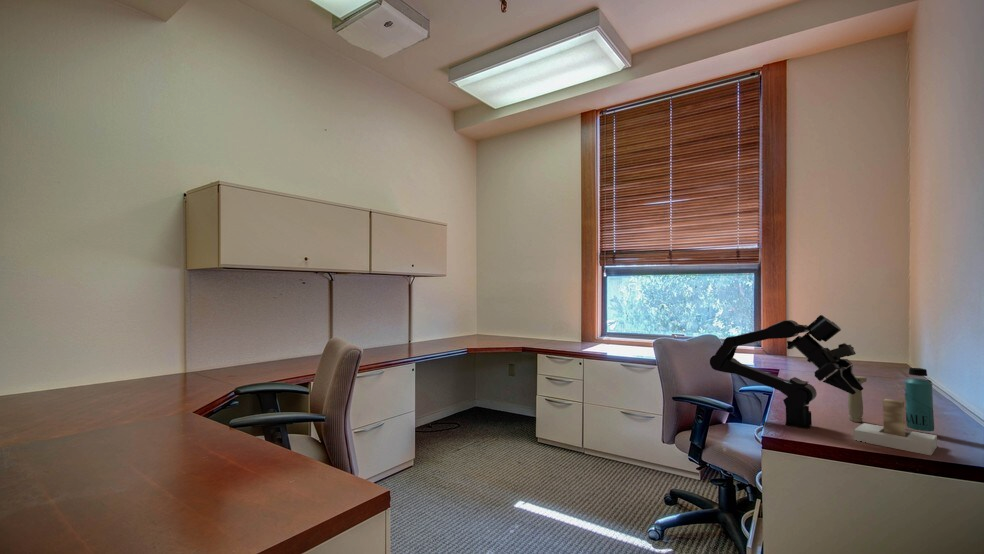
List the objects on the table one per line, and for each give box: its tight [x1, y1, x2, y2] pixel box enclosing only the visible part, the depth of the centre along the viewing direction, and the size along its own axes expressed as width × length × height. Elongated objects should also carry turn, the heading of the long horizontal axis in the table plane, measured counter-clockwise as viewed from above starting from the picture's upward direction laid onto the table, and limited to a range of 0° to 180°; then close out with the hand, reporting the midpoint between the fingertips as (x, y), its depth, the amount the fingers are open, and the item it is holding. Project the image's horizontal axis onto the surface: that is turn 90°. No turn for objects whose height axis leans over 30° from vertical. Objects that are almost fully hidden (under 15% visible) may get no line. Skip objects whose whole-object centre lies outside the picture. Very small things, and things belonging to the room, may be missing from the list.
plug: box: [882, 398, 906, 437], centre depth 127 cm, size 4×4×12 cm
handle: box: [847, 375, 868, 423], centre depth 150 cm, size 5×6×15 cm
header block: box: [853, 422, 938, 456], centre depth 127 cm, size 16×12×3 cm
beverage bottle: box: [904, 367, 935, 432], centre depth 137 cm, size 6×7×20 cm
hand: (858, 391), depth 133 cm, fingers open, 9 cm apart
